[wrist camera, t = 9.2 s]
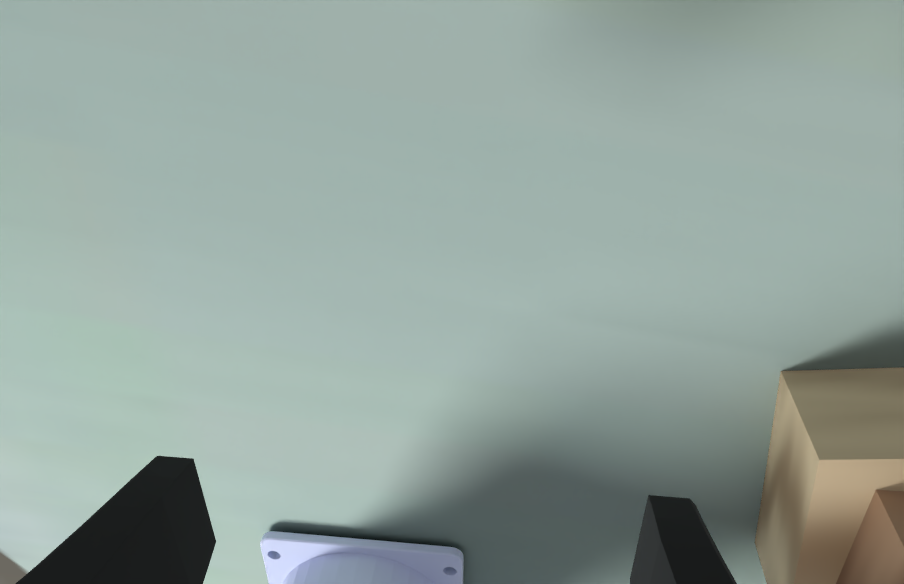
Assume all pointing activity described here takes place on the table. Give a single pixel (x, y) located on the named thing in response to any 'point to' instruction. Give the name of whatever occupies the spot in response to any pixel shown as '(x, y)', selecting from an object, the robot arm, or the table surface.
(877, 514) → the walnut cube
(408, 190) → the table surface
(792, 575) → the oak block
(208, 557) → the robot arm
